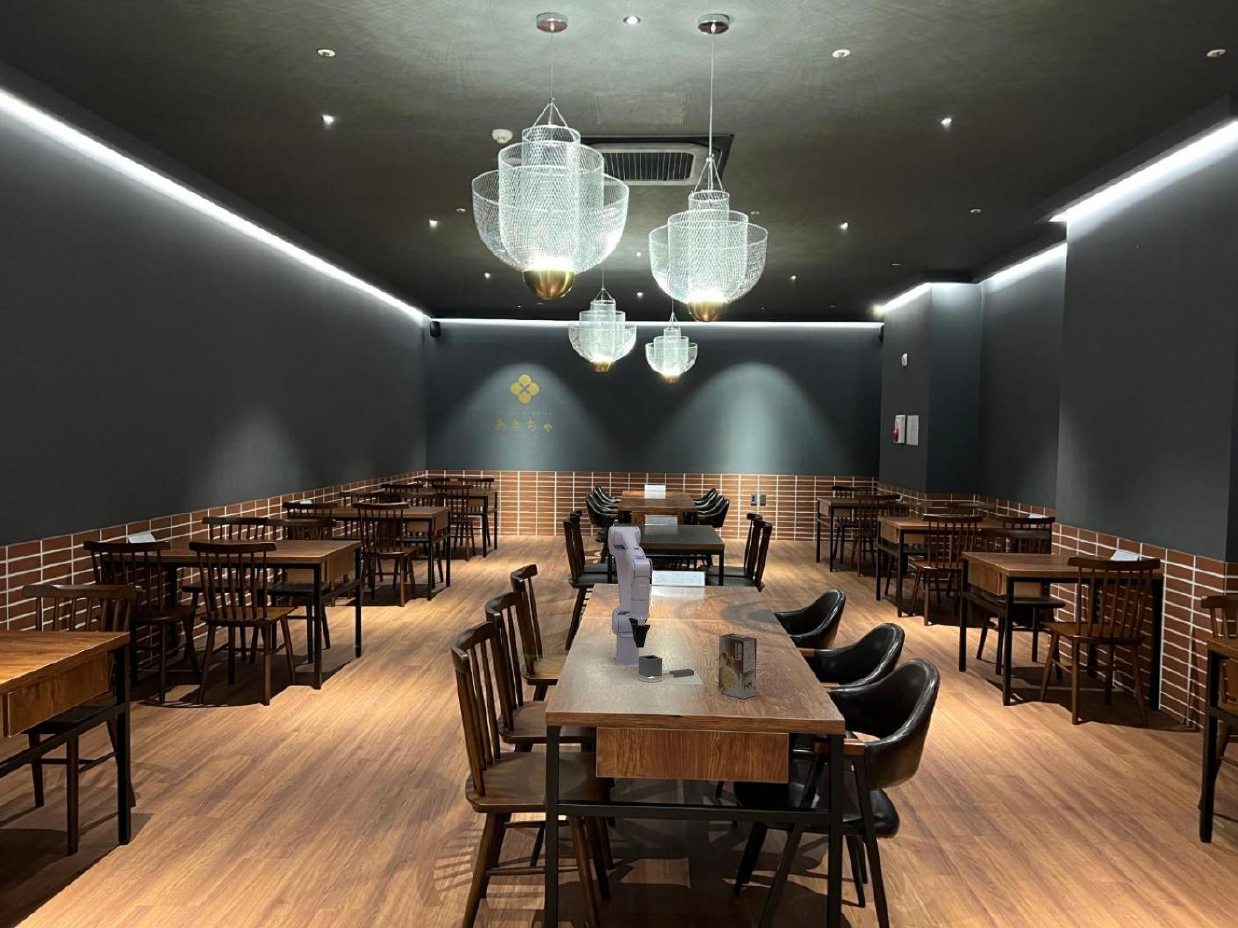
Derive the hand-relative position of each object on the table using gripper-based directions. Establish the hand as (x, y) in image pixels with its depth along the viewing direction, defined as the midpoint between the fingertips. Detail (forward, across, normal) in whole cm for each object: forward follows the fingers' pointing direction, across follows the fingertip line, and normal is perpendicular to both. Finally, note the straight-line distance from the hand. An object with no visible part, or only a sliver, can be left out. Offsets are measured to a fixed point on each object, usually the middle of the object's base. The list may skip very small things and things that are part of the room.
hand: (638, 644), depth 261 cm
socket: (+7, +6, +3) cm, 10 cm away
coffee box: (+10, +19, +26) cm, 34 cm away
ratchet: (+9, +4, +8) cm, 13 cm away
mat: (+9, +3, +4) cm, 11 cm away
